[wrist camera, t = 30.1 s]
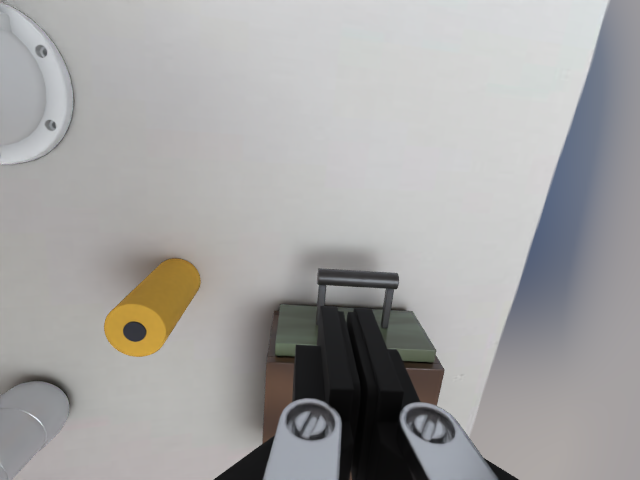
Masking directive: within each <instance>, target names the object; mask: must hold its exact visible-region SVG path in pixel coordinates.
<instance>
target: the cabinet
mask: <svg viewBox="0 0 640 480" xmlns="http://www.w3.org/2000/svg"><path fill="white" fill-rule="evenodd" d="M278 318H279V311H274V315H273V322H272V329H271V335H270V342H269V348H268V355H267V362H266V381H265V402H264V423H263V443H265V442H266V441H267V440H269V439H270V438H271V437H273V436H274V435H275V433H276V430H277V426H278V423H279V419H280V416H281V414H282V412H283V410H284V408H286V407H287V406H288V405H289V404H290V403H292V395H293V375H294V361H295V358H286V357H284V356H275V343H276V335H277V326H278ZM404 365H405V367H406V370H407V372H408V374H409V377H410V379H411V381H412V383H413V386H414V388H415V390H416V393H417V395H418V397H419V399H420V402H423V403H429V404H433V405H436V406H437V402H438V398H439V393H440V388H441V384H442V379H443V375H444V368H443V366H442V365H441V363H440V361H439V360H438V358H437V356H436V355H435V359H434V362H417V363H404ZM349 480H352V476H351V472H350V479H349Z"/></svg>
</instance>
